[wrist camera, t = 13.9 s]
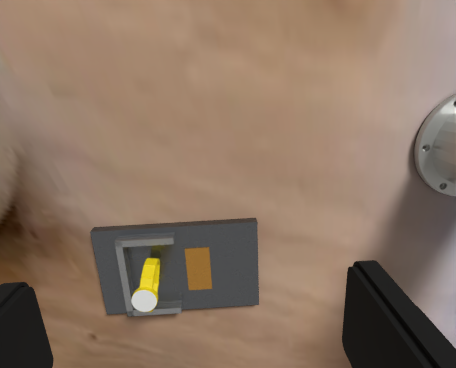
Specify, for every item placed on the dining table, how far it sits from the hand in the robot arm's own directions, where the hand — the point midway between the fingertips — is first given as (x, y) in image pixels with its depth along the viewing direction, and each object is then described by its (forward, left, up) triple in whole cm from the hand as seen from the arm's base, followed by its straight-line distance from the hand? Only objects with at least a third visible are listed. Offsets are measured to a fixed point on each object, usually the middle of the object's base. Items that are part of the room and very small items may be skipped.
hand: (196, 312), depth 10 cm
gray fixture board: (+5, +16, -28) cm, 33 cm away
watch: (+8, +16, -27) cm, 33 cm away
